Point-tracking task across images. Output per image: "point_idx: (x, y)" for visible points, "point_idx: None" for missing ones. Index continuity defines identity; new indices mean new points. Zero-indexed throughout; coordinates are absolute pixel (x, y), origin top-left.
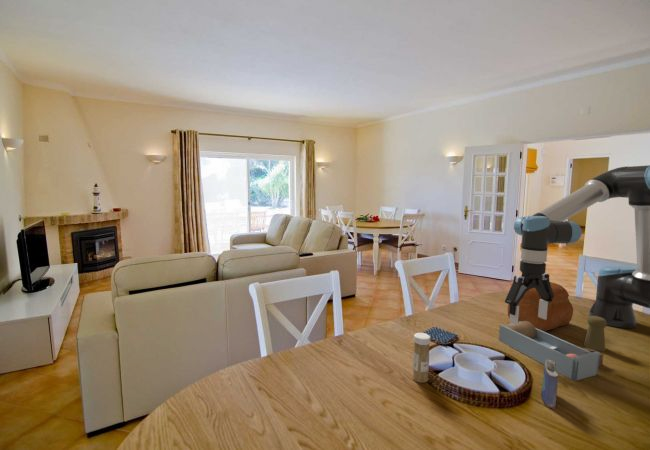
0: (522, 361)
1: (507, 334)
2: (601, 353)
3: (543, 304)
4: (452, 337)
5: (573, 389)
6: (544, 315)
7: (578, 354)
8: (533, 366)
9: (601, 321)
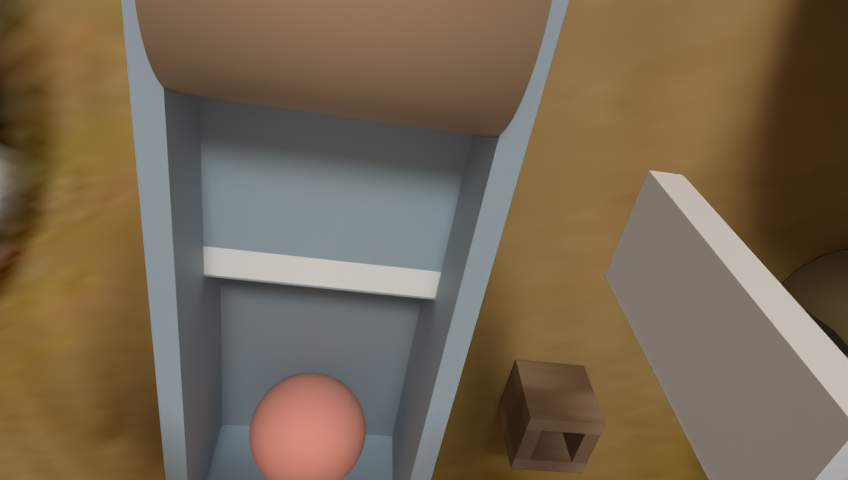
0: (69, 188)
1: None
2: (583, 466)
3: (734, 431)
4: None
5: (119, 458)
6: (629, 304)
7: (408, 437)
8: (97, 263)
9: None
